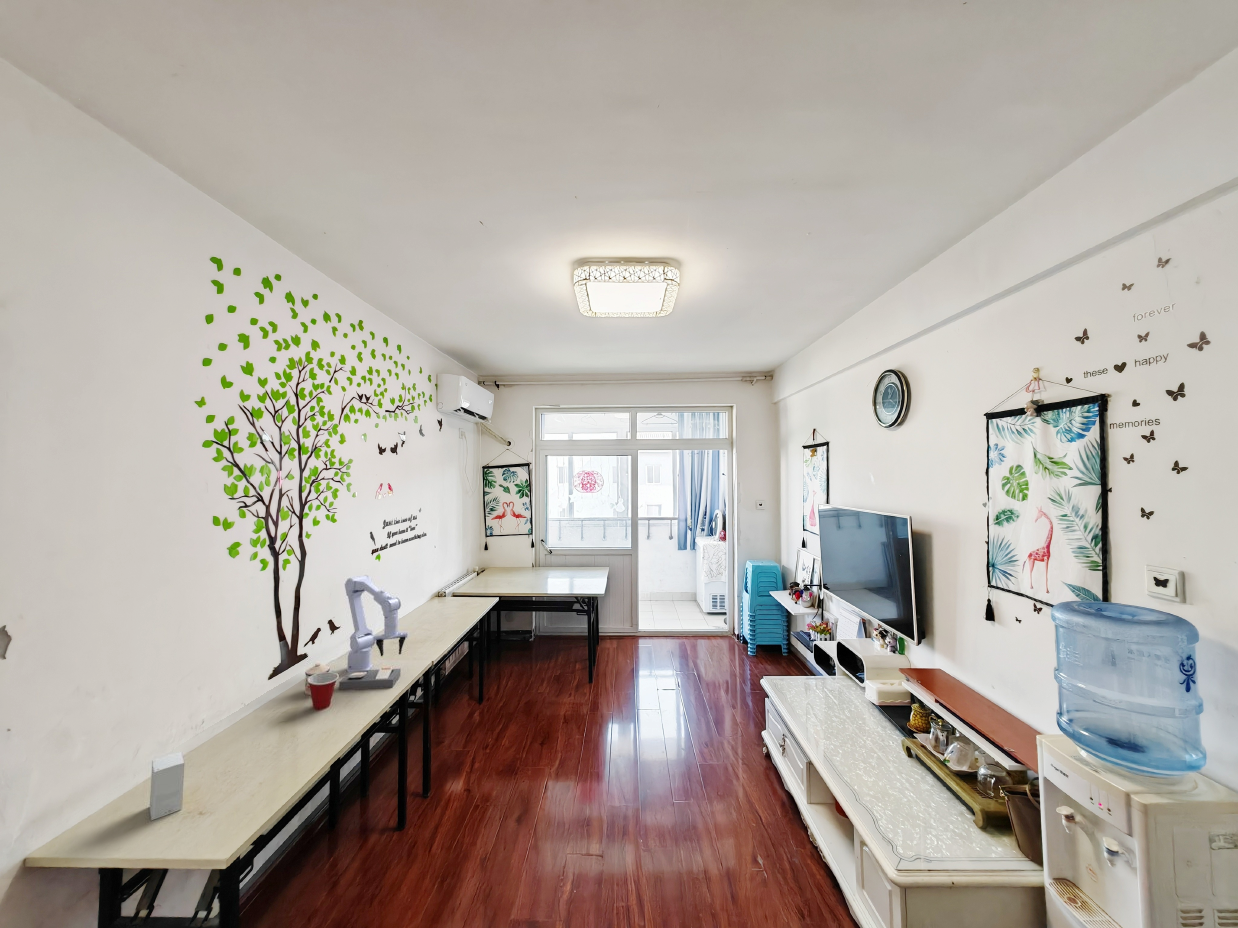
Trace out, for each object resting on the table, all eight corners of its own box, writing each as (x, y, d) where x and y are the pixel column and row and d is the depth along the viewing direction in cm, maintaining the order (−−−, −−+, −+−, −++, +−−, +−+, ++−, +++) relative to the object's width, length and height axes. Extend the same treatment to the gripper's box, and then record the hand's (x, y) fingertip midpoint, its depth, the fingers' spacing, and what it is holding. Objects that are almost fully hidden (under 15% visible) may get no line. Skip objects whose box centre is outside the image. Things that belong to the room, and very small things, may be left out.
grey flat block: (338, 689, 208) (339, 681, 208) (349, 678, 219) (349, 670, 220) (392, 687, 211) (392, 679, 211) (400, 675, 223) (400, 668, 223)
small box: (182, 809, 133) (184, 762, 134) (150, 821, 129) (153, 772, 129) (179, 795, 139) (181, 750, 139) (149, 806, 134) (151, 759, 135)
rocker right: (375, 680, 212) (375, 678, 212) (381, 669, 220) (380, 667, 220) (387, 680, 213) (387, 677, 213) (392, 668, 221) (392, 666, 221)
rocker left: (348, 677, 210) (348, 674, 211) (355, 674, 218) (355, 672, 218) (360, 677, 211) (361, 674, 211) (366, 674, 219) (367, 671, 219)
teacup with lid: (299, 695, 202) (300, 667, 202) (312, 685, 211) (313, 659, 211) (327, 695, 202) (328, 668, 202) (340, 686, 211) (341, 659, 211)
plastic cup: (324, 714, 187) (325, 683, 187) (299, 711, 188) (300, 681, 189) (344, 701, 197) (345, 672, 198) (320, 699, 199) (321, 670, 199)
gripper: (372, 628, 217) (372, 659, 216) (406, 625, 221) (406, 655, 220) (375, 624, 223) (375, 654, 223) (408, 621, 227) (409, 650, 227)
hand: (391, 654), depth 222 cm, fingers open, 7 cm apart
